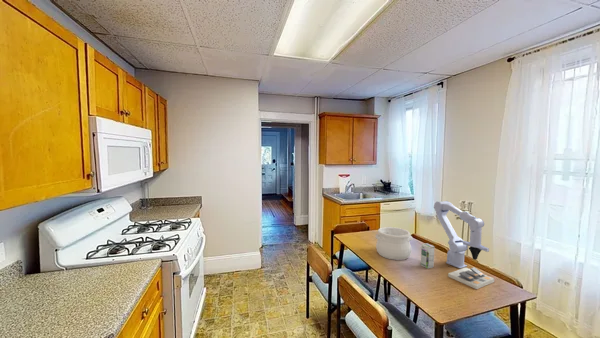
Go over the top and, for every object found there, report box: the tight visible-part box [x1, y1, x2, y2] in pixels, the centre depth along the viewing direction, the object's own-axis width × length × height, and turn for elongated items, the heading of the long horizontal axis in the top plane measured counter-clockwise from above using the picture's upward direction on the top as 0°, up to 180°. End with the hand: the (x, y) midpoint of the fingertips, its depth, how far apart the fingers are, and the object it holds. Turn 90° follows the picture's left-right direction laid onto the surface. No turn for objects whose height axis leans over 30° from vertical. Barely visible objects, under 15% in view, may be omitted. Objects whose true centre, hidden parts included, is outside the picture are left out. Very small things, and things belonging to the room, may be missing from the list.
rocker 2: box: [465, 270, 479, 277], centre depth 149 cm, size 6×4×1 cm, turn 27°
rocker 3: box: [469, 266, 485, 277], centre depth 151 cm, size 6×4×1 cm, turn 27°
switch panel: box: [447, 267, 495, 290], centre depth 149 cm, size 16×18×2 cm
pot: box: [375, 226, 413, 261], centre depth 185 cm, size 26×24×18 cm
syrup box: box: [420, 243, 435, 269], centre depth 166 cm, size 6×6×14 cm
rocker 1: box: [459, 271, 474, 280], centre depth 146 cm, size 6×4×1 cm, turn 27°
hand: (474, 259), depth 157 cm, fingers closed
